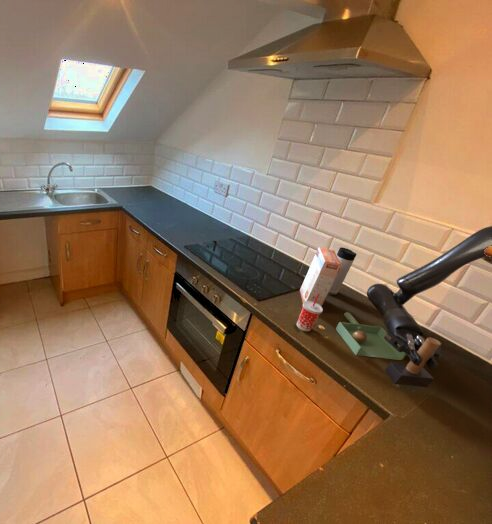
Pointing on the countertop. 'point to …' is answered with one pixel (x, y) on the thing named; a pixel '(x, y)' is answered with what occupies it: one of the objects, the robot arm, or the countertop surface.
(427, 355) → the brush
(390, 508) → the countertop surface
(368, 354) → the dustpan
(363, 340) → the cork ball
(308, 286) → the cracker box
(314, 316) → the beverage cup
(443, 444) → the countertop surface
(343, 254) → the travel mug
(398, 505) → the countertop surface
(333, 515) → the countertop surface
